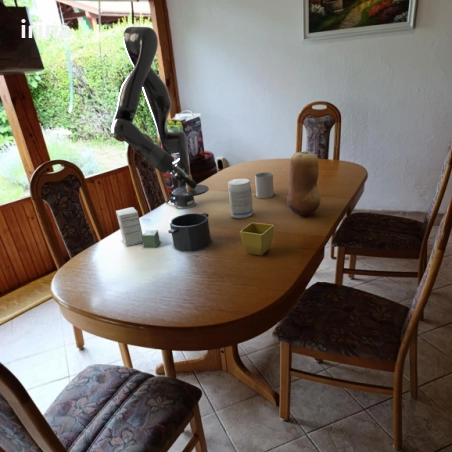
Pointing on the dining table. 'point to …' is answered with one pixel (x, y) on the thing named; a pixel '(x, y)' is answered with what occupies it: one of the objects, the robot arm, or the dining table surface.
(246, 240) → the flower pot
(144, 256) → the dining table surface
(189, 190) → the lid
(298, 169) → the butternut squash
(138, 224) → the white packaging box
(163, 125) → the robot arm
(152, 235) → the block
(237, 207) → the supplement tub
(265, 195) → the cup
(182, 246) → the pot
